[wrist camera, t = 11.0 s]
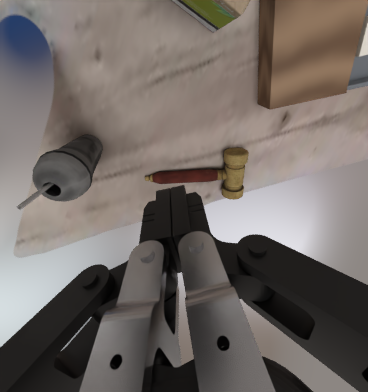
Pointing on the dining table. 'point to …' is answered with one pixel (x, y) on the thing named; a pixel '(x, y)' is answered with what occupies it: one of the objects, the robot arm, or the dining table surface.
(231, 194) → the gavel
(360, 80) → the tray
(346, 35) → the matchbox style sliding box
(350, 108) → the dining table surface
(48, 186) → the beverage cup
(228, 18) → the tea box
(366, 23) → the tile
